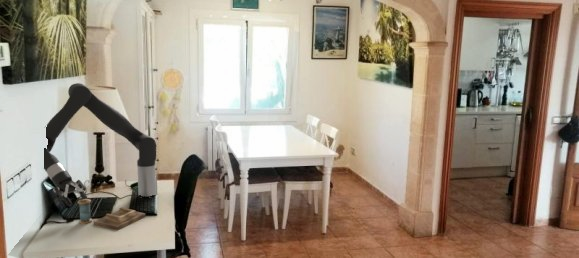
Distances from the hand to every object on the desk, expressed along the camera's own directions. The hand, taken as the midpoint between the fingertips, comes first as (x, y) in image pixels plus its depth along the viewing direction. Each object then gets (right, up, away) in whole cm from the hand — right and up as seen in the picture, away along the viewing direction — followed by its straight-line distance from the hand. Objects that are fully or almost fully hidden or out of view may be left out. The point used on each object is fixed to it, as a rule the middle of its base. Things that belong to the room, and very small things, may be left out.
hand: (78, 202), depth 207 cm
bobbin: (+3, -9, 0) cm, 9 cm away
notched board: (+18, -9, +2) cm, 21 cm away
